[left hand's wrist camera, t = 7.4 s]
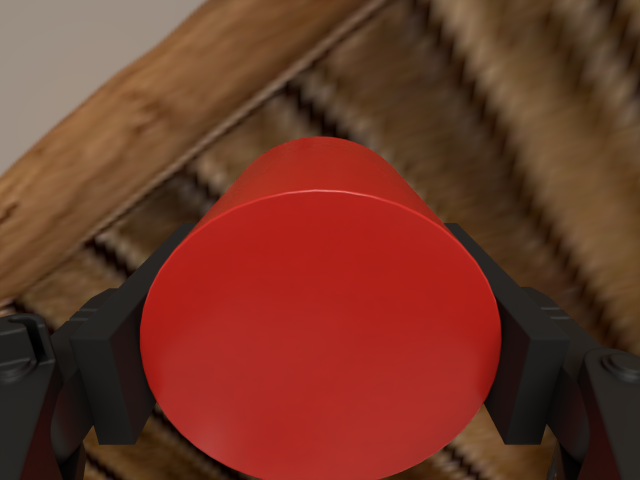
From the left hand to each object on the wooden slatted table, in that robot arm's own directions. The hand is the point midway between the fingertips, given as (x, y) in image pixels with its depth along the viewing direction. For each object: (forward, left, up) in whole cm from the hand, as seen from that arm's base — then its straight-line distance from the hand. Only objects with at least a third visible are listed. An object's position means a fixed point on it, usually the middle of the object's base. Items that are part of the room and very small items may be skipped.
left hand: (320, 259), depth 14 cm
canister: (0, 0, -2) cm, 2 cm away
